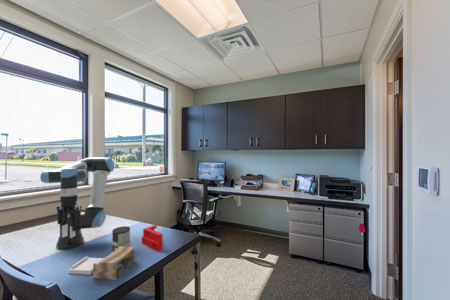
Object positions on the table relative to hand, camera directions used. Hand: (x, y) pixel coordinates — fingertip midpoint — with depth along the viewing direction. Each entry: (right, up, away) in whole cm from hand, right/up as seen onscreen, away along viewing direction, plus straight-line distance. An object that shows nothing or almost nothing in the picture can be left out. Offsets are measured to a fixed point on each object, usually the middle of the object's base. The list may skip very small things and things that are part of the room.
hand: (68, 236), depth 111 cm
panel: (+12, -17, -1) cm, 21 cm away
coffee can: (+21, -17, +17) cm, 32 cm away
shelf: (+28, -17, -3) cm, 33 cm away
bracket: (+40, -17, +26) cm, 51 cm away
